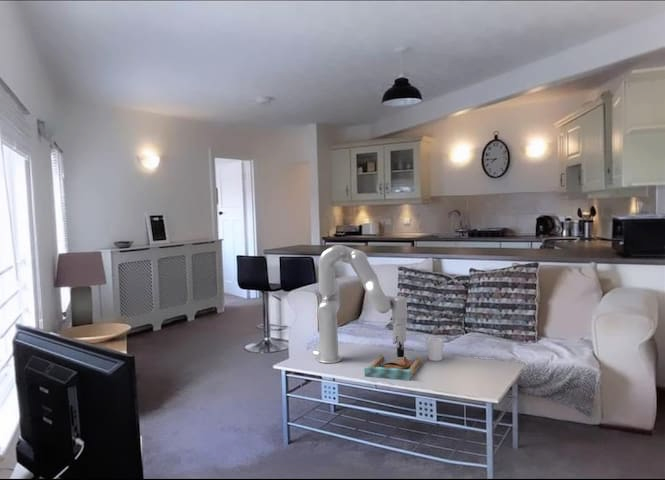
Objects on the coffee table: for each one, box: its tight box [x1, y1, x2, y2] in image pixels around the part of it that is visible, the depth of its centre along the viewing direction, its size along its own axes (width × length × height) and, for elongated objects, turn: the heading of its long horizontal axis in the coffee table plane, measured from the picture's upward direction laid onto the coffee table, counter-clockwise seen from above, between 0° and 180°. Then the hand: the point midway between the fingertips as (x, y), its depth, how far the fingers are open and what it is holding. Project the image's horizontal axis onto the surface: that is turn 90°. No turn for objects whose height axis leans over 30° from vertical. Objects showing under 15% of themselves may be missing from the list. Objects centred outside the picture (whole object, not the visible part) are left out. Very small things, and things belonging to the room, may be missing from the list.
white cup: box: [426, 337, 444, 362], centre depth 251 cm, size 8×8×10 cm
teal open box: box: [363, 354, 422, 381], centre depth 236 cm, size 21×27×4 cm
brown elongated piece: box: [381, 356, 414, 370], centre depth 238 cm, size 18×7×7 cm
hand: (400, 356), depth 249 cm, fingers closed
